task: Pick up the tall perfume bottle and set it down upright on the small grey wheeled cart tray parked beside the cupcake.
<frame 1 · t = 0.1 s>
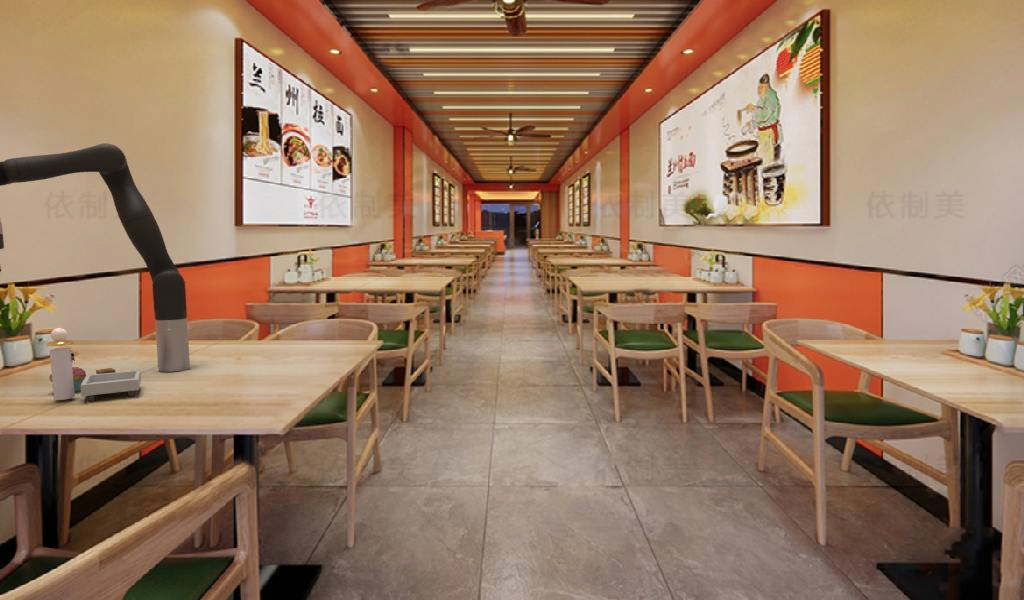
walnut block: (106, 382, 179), on the table
cupcake: (69, 392, 169), on the table
perfume bottle: (64, 401, 160), on the table
cart: (113, 394, 166), on the table
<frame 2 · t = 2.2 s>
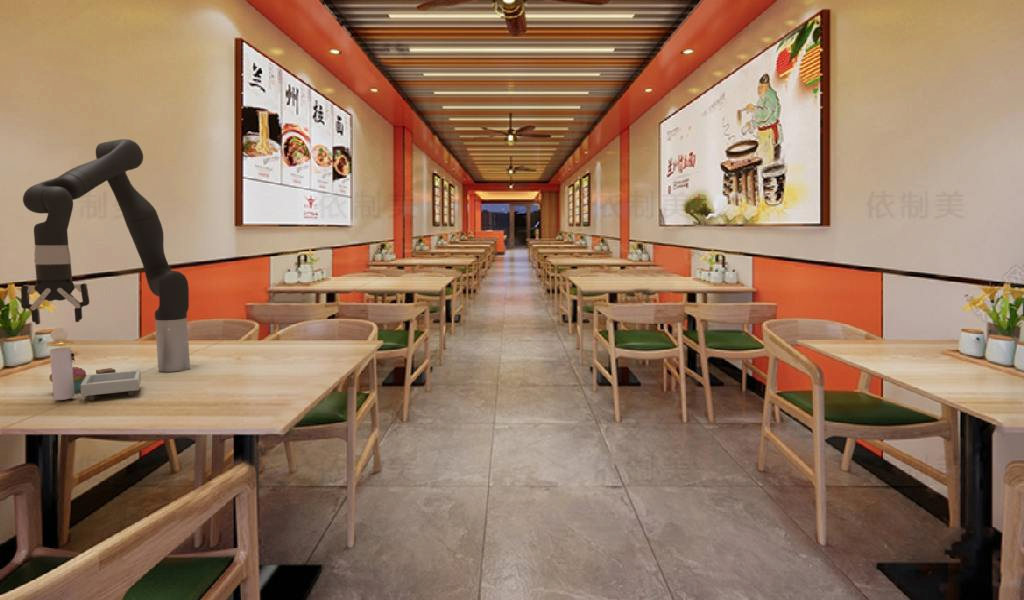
hand: (57, 322, 157), 21 cm above the table, fingers open, 8 cm apart
nothing on the table moved.
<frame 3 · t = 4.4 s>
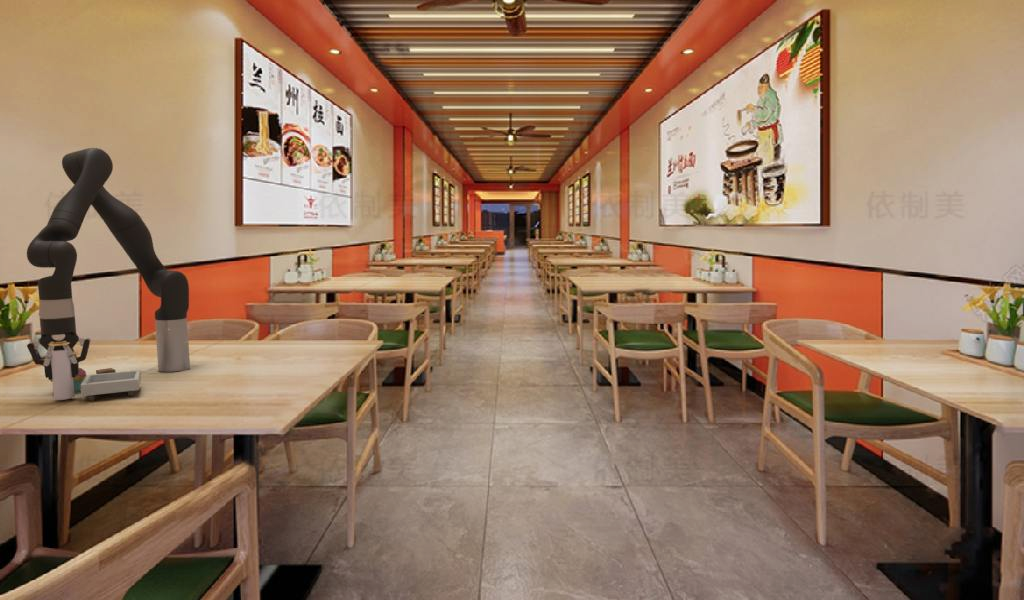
hand: (62, 377, 159), 6 cm above the table, fingers closed on perfume bottle, 4 cm apart
perfume bottle: (64, 401, 160), on the table, touching gripper
everything else where it was.
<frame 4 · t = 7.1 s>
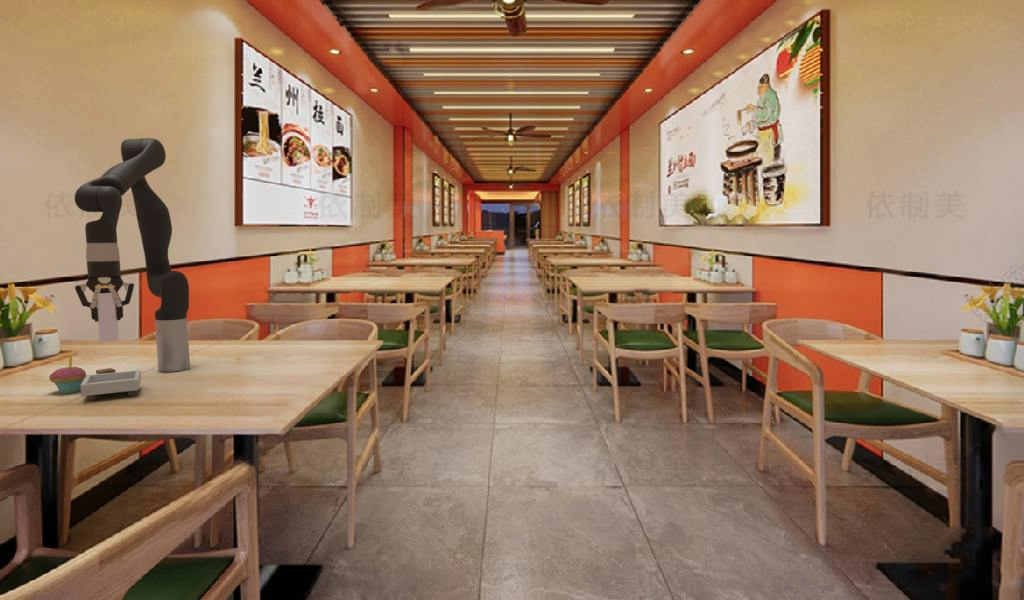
hand: (107, 320, 163), 21 cm above the table, fingers closed on perfume bottle, 4 cm apart
perfume bottle: (109, 343, 164), point 15 cm above the table, touching gripper
everything else where it was.
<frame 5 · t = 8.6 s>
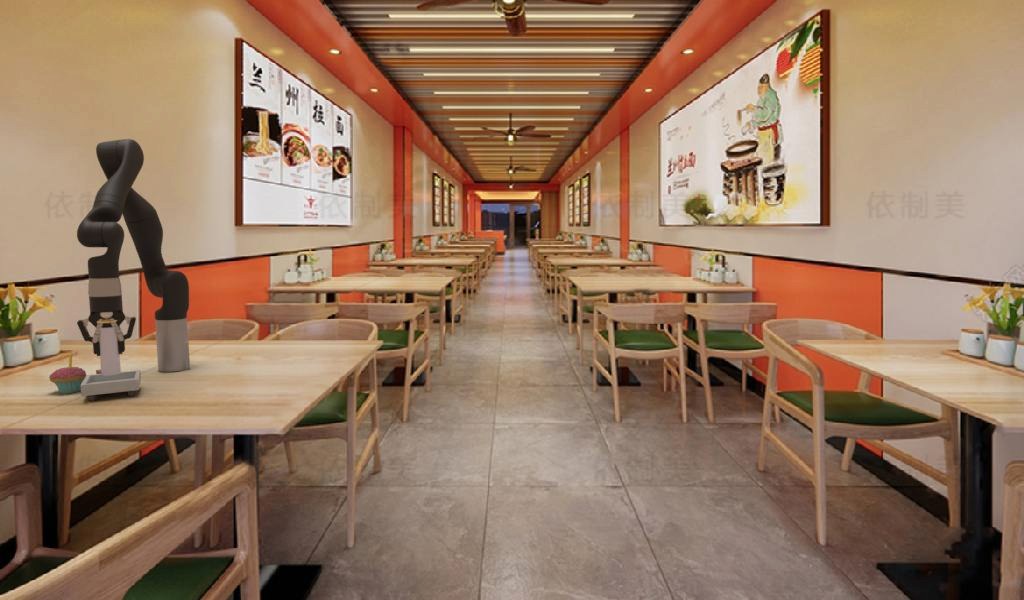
hand: (109, 354, 164), 12 cm above the table, fingers closed on perfume bottle, 4 cm apart
perfume bottle: (111, 377, 165), point 5 cm above the table, touching gripper
everything else where it was.
when the fingers open (10 cm above the table, at t = 9.7 s): perfume bottle stays where it is, resting on cart.
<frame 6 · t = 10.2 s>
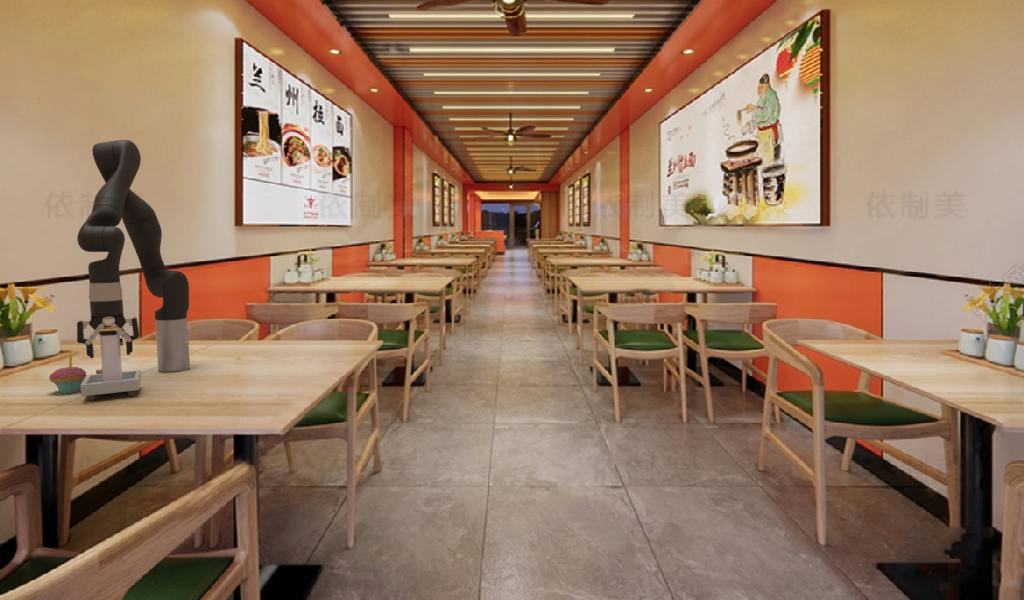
hand: (110, 356, 164), 11 cm above the table, fingers open, 8 cm apart
perfume bottle: (112, 384, 165), point 3 cm above the table, touching cart
everything else where it was.
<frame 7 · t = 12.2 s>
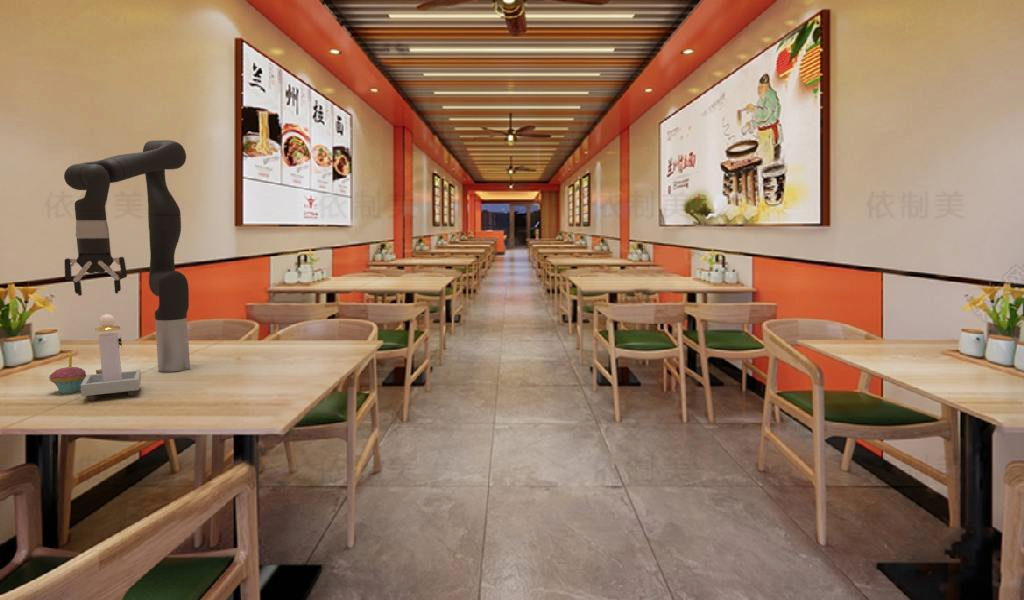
hand: (98, 294, 166), 28 cm above the table, fingers open, 8 cm apart
nothing on the table moved.
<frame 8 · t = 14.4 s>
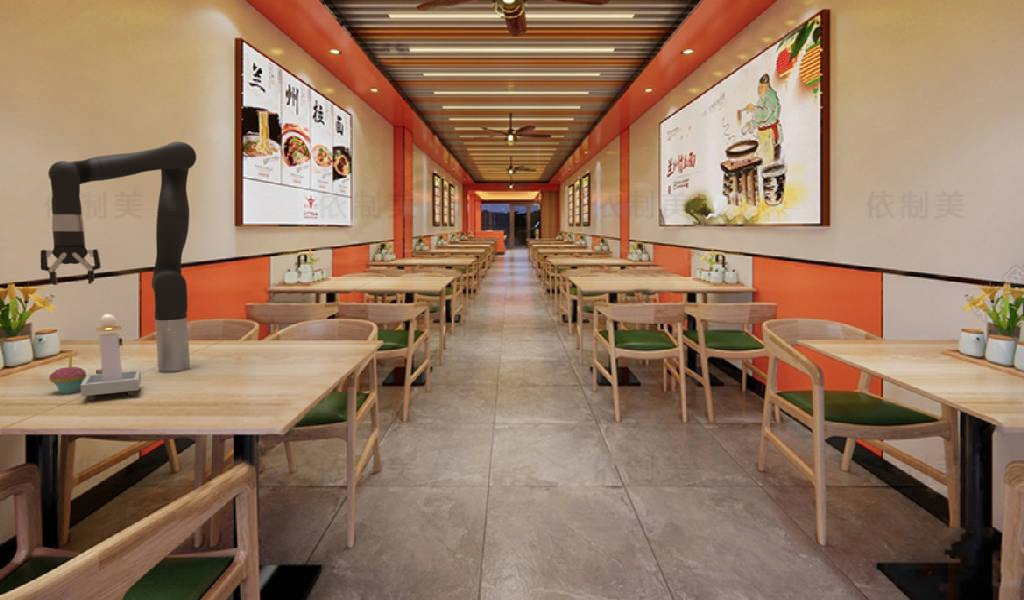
hand: (72, 284, 177), 30 cm above the table, fingers open, 8 cm apart
nothing on the table moved.
at the end: perfume bottle inside the target area on the cart (0.1 cm from its centre), point 2.8 cm above the cart's base; perfume bottle tilted 0°; the gripper is holding nothing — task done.
